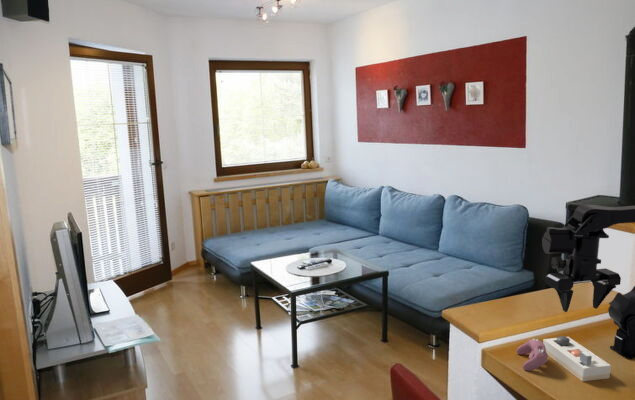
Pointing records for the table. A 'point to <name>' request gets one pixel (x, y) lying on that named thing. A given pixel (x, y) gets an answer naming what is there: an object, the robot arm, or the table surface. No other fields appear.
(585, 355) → the slide switch
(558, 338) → the black button
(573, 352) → the salmon orange button
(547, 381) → the table surface
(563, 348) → the switch panel
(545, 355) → the video game controller
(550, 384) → the table surface
